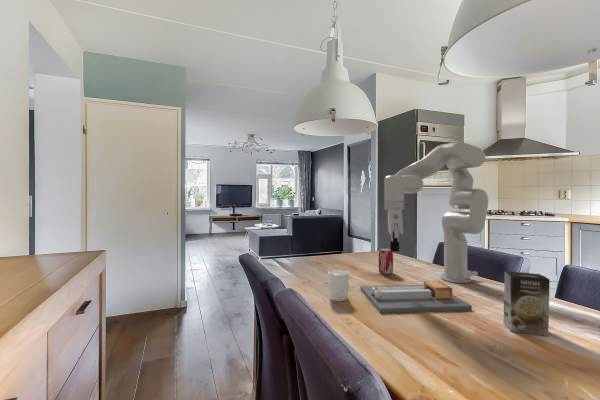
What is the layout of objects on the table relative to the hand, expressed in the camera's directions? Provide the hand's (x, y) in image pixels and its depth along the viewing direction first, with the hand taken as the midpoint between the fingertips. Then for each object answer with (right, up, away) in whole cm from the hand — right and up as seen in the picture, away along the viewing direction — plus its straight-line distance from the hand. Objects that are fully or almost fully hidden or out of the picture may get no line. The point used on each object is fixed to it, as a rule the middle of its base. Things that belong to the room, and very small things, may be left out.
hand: (394, 251), depth 118 cm
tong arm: (-1, -15, -7) cm, 17 cm away
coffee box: (+27, -17, -33) cm, 46 cm away
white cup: (-24, -17, -7) cm, 30 cm away
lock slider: (+13, -15, -8) cm, 22 cm away
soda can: (+5, -17, +29) cm, 34 cm away
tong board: (+3, -17, -8) cm, 19 cm away
